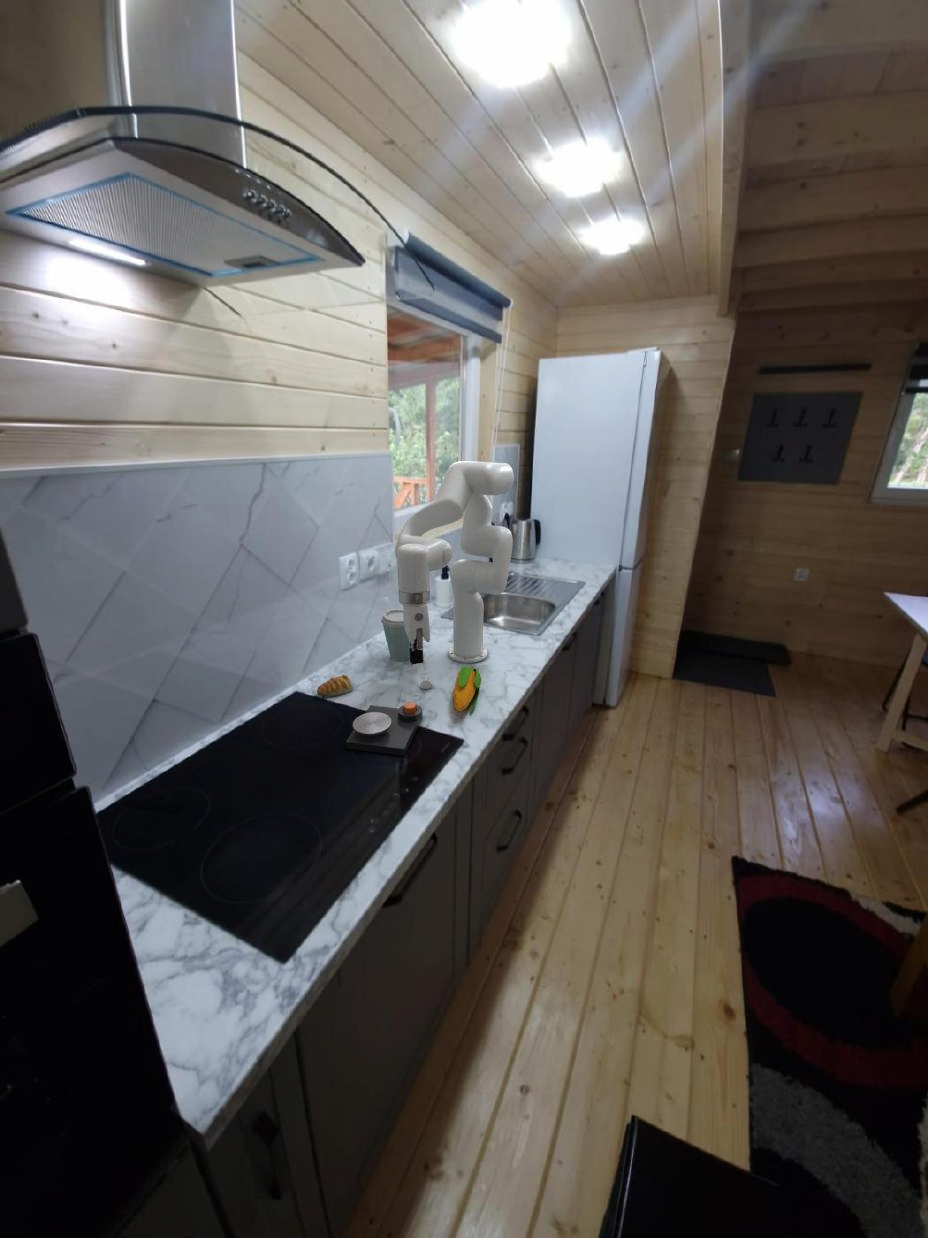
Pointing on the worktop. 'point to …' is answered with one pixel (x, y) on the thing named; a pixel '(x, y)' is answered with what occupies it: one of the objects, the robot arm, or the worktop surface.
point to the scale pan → (372, 723)
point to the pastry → (335, 686)
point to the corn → (466, 688)
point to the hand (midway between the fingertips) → (416, 662)
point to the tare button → (409, 707)
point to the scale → (389, 732)
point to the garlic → (426, 684)
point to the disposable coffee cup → (396, 634)
